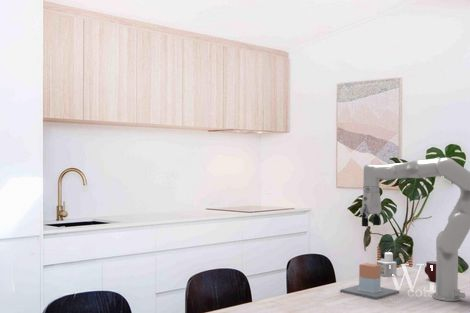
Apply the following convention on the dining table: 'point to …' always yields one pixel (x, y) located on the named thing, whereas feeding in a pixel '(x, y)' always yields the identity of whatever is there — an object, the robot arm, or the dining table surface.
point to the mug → (428, 270)
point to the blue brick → (369, 284)
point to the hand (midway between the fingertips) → (370, 225)
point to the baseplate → (372, 295)
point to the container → (387, 264)
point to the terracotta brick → (369, 271)
